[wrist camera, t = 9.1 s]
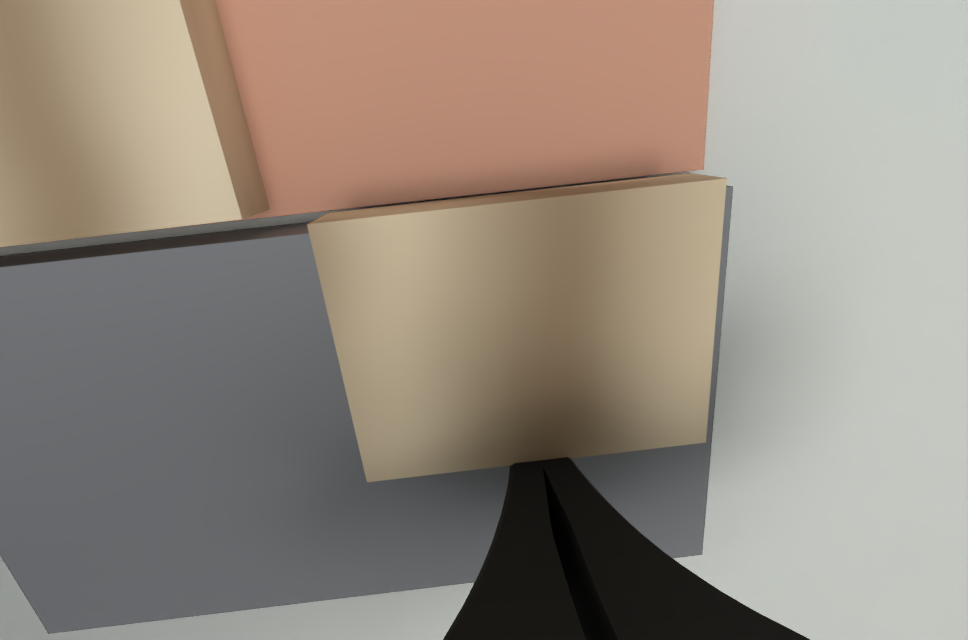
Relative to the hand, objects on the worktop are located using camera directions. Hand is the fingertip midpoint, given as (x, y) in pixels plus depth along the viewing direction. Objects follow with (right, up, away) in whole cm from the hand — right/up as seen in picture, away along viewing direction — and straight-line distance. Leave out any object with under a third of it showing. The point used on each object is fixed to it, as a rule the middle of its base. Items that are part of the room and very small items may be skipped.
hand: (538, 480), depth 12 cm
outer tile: (-1, +4, -1) cm, 4 cm away
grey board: (-5, +2, +2) cm, 6 cm away
